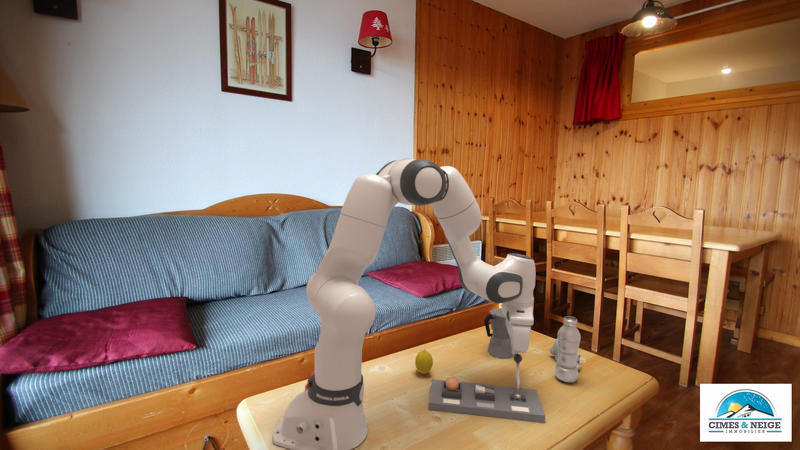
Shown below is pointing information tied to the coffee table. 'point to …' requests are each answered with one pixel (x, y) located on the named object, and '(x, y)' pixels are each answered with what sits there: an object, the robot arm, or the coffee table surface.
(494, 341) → the coffeepot
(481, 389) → the rocker switch
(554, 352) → the round bodied animal figurine
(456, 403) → the control panel
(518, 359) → the toggle lever
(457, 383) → the push button
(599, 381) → the coffee table surface
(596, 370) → the coffee table surface
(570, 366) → the plastic bottle
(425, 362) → the lemon
